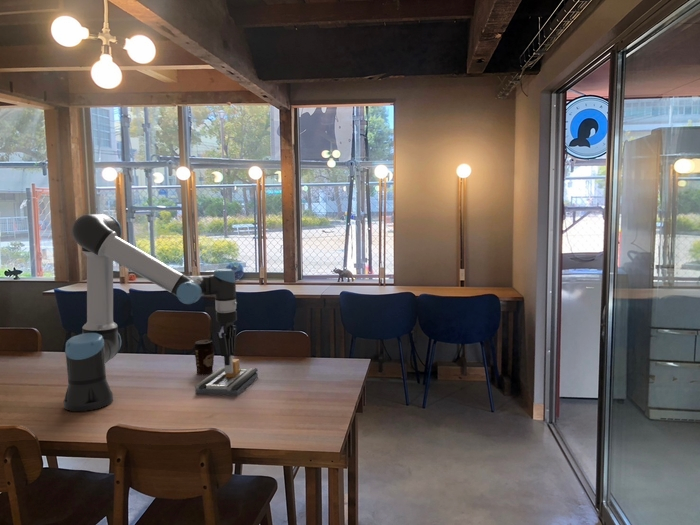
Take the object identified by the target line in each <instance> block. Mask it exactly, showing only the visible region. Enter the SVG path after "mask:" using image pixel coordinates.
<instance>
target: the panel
mask: <svg viewBox="0 0 700 525" xmlns="http://www.w3.org/2000/svg"><path fill="white" fill-rule="evenodd" d="M247 371H248V369H245V368H241V369H240V372H239V373H238V374H237V375H236V376H234V377H226V373H225V371H224V372H223V373H221V374H220V375H219V376H217V377H216V378H215V379H213V380H212V381H211V382H209V383H208V384H207V385H206V387H205V388H203V389H200V388H198V389H195V388H194V389H195V394H198V395H216V396H218V395H219V396H232V397H233V396H236V397H238V396H240V394H242V393H243V391H245V390H246V389H247V388H248V387H249V386H250V385H251V384H252V383H254V382H255V381H256V380H257V379H258V372H256V373H255V374H253V375H252V376H251V377H250V378H249V379H248V380H247V381H245V382H244V383H243V384H242V385H241V386H240V387H239V388H237V389H236V390H235V391H232V389H231V390H230V391H228V390H227V387H229V386H230V385H231V384H232V383H233V382H235V381H236V380H237V379H238V378H239V377H241V376H242V375H243V374H244V373H245V372H247Z"/></svg>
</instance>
